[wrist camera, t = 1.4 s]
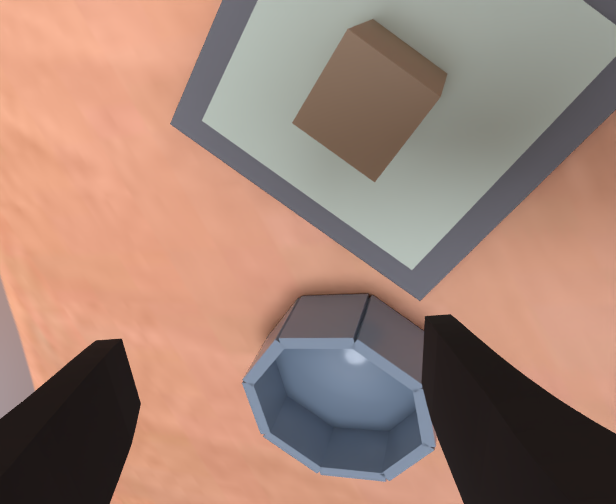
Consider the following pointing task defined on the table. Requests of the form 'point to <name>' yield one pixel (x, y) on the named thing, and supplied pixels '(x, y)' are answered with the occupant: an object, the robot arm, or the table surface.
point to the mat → (418, 282)
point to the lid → (404, 101)
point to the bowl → (343, 388)
